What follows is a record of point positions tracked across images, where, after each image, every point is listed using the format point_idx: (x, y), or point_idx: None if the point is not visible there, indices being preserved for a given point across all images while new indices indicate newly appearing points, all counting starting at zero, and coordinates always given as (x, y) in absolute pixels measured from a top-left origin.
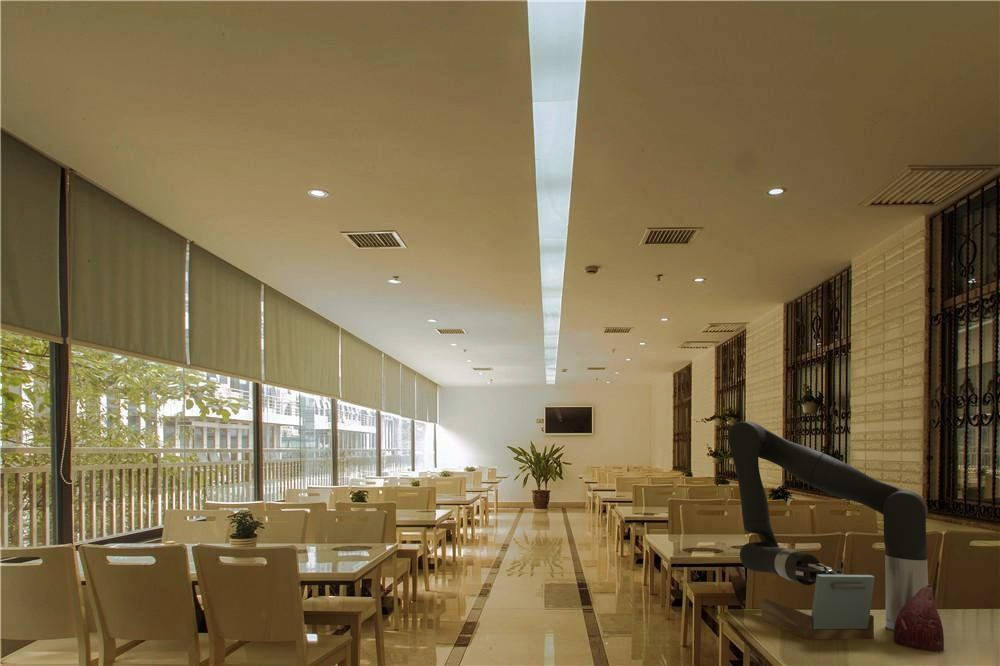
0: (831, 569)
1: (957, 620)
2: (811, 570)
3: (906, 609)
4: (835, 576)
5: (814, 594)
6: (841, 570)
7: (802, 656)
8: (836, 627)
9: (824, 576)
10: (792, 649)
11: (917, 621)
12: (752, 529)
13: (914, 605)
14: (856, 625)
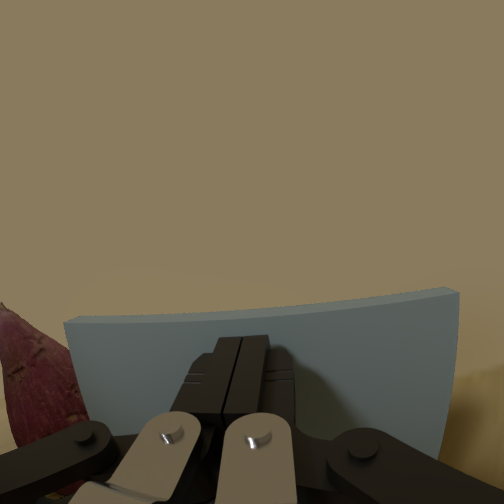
0: (106, 484)
1: None
2: (452, 473)
3: (73, 384)
4: (340, 301)
5: (447, 408)
6: (30, 443)
7: (482, 375)
8: None
9: (417, 291)
10: (496, 411)
11: None
12: None
13: (66, 359)
14: None
